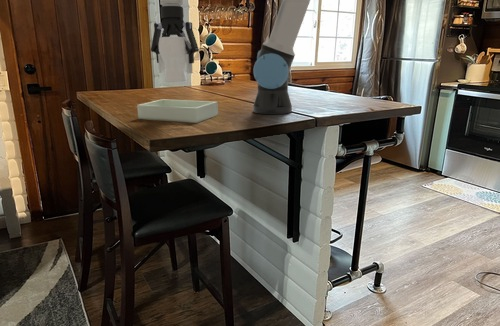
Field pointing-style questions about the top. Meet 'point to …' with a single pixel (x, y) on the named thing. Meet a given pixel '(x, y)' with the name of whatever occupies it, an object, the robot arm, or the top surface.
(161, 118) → the white shallow tray
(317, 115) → the top surface
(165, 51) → the cup
